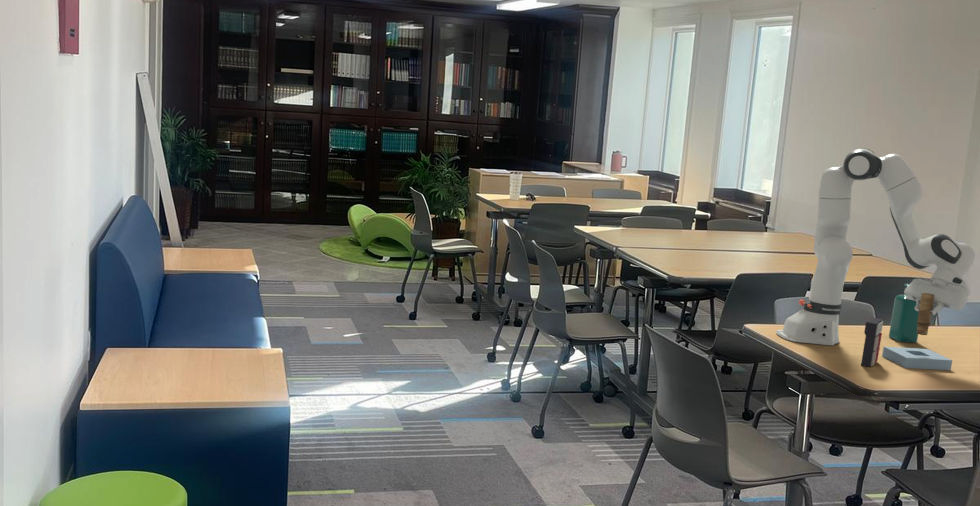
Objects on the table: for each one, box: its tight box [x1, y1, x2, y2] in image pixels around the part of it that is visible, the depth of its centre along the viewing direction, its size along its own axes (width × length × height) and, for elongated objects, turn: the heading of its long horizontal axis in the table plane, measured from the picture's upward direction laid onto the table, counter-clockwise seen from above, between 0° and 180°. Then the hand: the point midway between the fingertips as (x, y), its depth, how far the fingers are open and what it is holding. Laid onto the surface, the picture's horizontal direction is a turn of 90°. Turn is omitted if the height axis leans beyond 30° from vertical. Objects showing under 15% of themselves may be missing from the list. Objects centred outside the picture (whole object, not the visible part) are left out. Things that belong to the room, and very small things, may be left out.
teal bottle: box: [888, 283, 919, 344], centre depth 353 cm, size 10×8×22 cm
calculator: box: [860, 316, 884, 368], centre depth 312 cm, size 11×4×15 cm, turn 148°
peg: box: [917, 293, 934, 336], centre depth 317 cm, size 4×4×14 cm
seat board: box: [881, 346, 953, 371], centre depth 320 cm, size 17×14×4 cm
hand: (924, 311), depth 317 cm, fingers closed on peg, 4 cm apart
